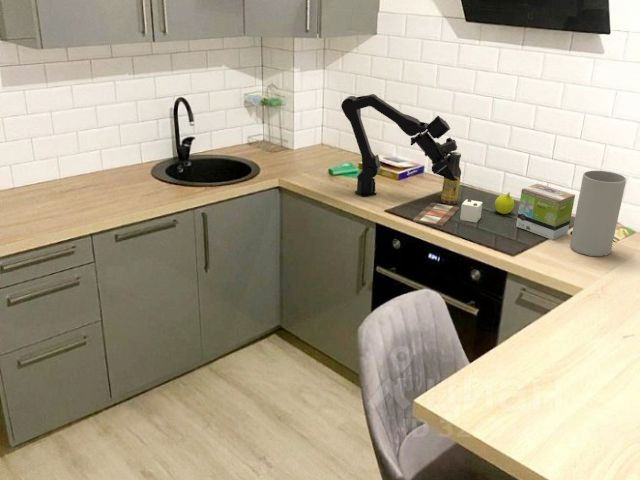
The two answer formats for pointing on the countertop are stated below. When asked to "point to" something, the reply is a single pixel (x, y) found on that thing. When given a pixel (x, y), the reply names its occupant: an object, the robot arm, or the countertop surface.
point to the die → (471, 210)
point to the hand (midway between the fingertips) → (455, 177)
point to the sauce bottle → (450, 186)
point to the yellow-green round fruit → (504, 204)
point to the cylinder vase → (597, 212)
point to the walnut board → (436, 214)
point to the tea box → (545, 211)
